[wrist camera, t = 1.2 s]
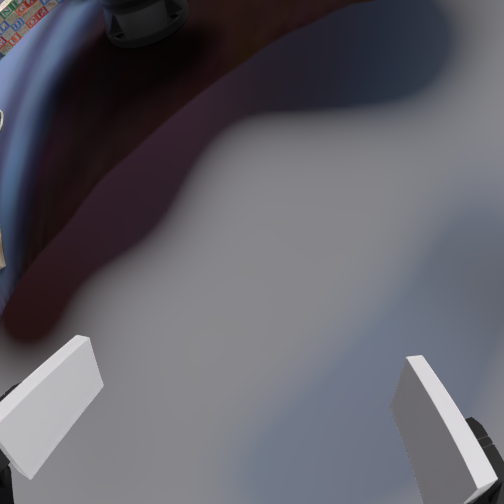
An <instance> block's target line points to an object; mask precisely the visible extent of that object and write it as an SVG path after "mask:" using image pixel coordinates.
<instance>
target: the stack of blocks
mask: <svg viewBox="0 0 504 504" xmlns="http://www.w3.org/2000/svg"><path fill="white" fill-rule="evenodd" d="M61 1H62V0H5V1H4V2H3V3H2V4H1V5H0V52H1V53H2V54H3V55H4V56H5V55H6V54H7V53H8V52H9V50H10V49H11V48H12V47H13V46H14V45H15V44H16V43H17V42H18V41H19V40H20V39H21V38H22V37H23V36H24V35H25V34H26V33H27V32H28V31H29V30H30V29H31V28H32V27H33V26H34V25H35V24H36V23H37V22H38V21H39V20H40V19H41V18H42V17H43V16H45V15H46V14H47V13H48V12H49V11H50V10H52V9H53V8H54V7H55V6H56V5H57V4H59V3H60V2H61Z"/></svg>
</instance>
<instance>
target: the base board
mask: <svg viewBox="0 0 504 504" xmlns="http://www.w3.org/2000/svg"><path fill="white" fill-rule="evenodd" d="M4 267H6V266H5V260H4V254H3V247H2V240H1V232H0V269H2V268H4Z"/></svg>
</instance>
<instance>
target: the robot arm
mask: <svg viewBox="0 0 504 504" xmlns="http://www.w3.org/2000/svg"><path fill="white" fill-rule="evenodd" d="M100 2H101V4H102V6H103V8H104V23H105V32H106V35H107V37H108V38H109V40H110V42H111V43H112V44H113V45H115V46H117V47H120V48H138V47H143V46H147V45H150V44H153V43H155V42H158V41H160V40H162V39H164V38H166V37H168V36H169V35H171V34H172V33H174V32H175V31H176V30H178V29H179V28H180V27H181V26H182V25H183V24H184V22H185V21H186V19H187V17H188V14H189V9H188V4H187V0H100ZM103 386H104V385H103V382H102V379H101V376H100V373H99V370H98V367H97V363H96V360H95V357H94V353H93V350H92V346H91V342H90V338H88V337H84V336H80V335H76V336H75V337H74V338H72V339H71V340H70V341H69V342H68V343H66V344H65V345H64V346H63V347H62V348H61V349H59V350H58V351H57V352H56V353H55V354H54V355H52V356H51V357H50V358H49V359H48V360H47V361H45V363H43V364H42V365H41V366H40V367H39V368H37V369H36V370H35V371H34V372H33V373H32V374H31V375H29V376H28V377H27V378H26V379H25V380H24V381H23V382H20V383H18V384H16V385H14V386H12V387H11V388H10V389H9V390H8V391H7V392H6V393H5V395H3V396H1V397H0V504H14V499H13V490H12V478H11V470H10V467H9V466H8V464H9V463H10V462H11V463H12V465H13V466H14V467H15V468H16V469H17V470H18V471H19V472H20V473H21V474H23V475H25V476H26V477H27V478H29V479H30V480H31V479H32V478H33V477H34V475H35V474H36V473H37V471H38V470H39V469H40V467H41V466H42V465H43V463H44V462H45V461H46V459H47V457H49V455H50V454H51V453H52V451H53V450H54V449H55V447H56V446H57V445H58V443H59V442H60V441H61V439H62V438H63V437H64V436H65V434H66V433H67V432H68V430H69V429H70V428H71V426H72V425H73V424H74V423H75V422H76V420H77V419H78V418H79V416H80V415H81V414H82V413H83V411H84V410H85V409H86V408H87V406H88V405H89V404H90V402H91V401H92V400H93V399H94V398H95V396H96V395H97V394H98V393H99V391H100V390H101V389H102V387H103ZM389 408H390V410H391V413H392V415H393V418H394V421H395V423H396V426H397V428H398V431H399V434H400V436H401V438H402V441H403V444H404V447H405V449H406V452H407V455H408V458H409V461H410V464H411V466H412V469H413V472H414V475H415V478H416V481H417V484H418V487H419V490H420V493H421V497H422V499H423V503H424V504H504V461H503V459H502V458H501V456H500V454H499V452H498V450H497V449H496V447H495V445H493V444H492V440H491V439H490V437H488V434H487V432H486V431H485V430H484V428H483V426H482V425H481V424H480V423H479V422H477V421H476V420H475V419H474V418H472V417H471V418H467V419H464V418H463V416H462V415H461V413H460V411H459V410H458V408H457V406H456V405H455V403H454V402H453V400H452V399H451V397H450V396H449V394H448V392H447V391H446V389H445V388H444V386H443V385H442V383H441V382H440V380H439V379H438V378H437V376H436V375H435V373H434V372H433V370H432V369H431V367H430V366H429V364H428V363H427V362H426V360H425V359H424V357H423V356H422V355H420V356H410V357H406V359H405V362H404V365H403V369H402V372H401V375H400V378H399V381H398V384H397V387H396V390H395V393H394V395H393V398H392V401H391V403H390V406H389Z"/></svg>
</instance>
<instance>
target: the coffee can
mask: <svg viewBox="0 0 504 504" xmlns="http://www.w3.org/2000/svg"><path fill="white" fill-rule="evenodd" d="M2 124H3V113H2V111H1V110H0V131H1V128H2Z"/></svg>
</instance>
